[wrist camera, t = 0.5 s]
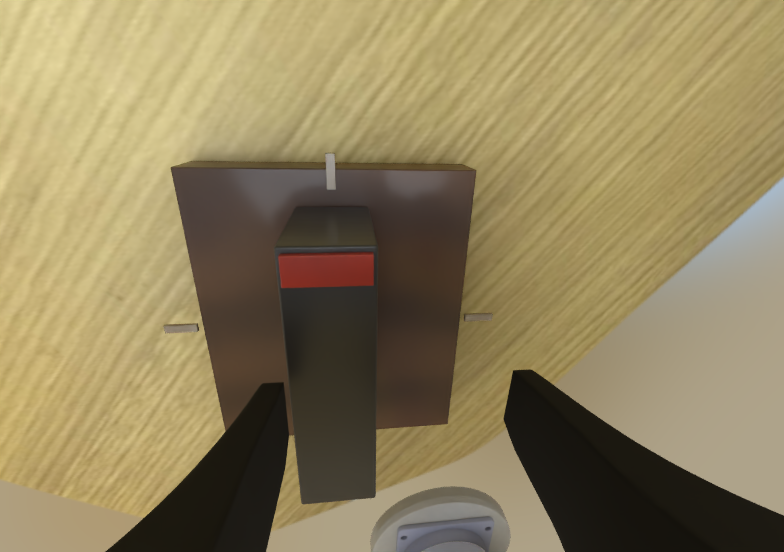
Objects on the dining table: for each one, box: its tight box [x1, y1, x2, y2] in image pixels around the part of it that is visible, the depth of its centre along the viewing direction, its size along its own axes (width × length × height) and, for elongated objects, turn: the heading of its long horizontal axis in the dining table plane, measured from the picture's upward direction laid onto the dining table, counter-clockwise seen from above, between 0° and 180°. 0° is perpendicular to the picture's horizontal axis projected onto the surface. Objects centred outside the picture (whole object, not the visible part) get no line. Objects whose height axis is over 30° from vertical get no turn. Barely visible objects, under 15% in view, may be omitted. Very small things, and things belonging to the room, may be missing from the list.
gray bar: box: [274, 207, 378, 504], centre depth 15 cm, size 11×3×5 cm, turn 178°
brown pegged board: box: [164, 153, 493, 435], centre depth 18 cm, size 15×15×2 cm
